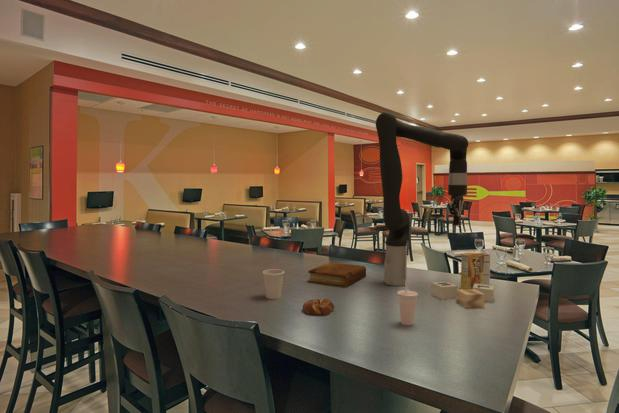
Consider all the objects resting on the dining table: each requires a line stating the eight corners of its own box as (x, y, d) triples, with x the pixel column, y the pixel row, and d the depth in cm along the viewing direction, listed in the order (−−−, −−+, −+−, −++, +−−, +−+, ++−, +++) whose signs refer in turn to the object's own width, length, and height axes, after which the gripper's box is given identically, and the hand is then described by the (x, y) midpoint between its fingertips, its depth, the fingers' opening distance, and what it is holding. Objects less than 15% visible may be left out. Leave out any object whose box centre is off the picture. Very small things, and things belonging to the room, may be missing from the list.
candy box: (474, 287, 164) (476, 252, 164) (483, 289, 161) (484, 253, 160) (459, 289, 161) (461, 253, 160) (468, 292, 157) (469, 255, 156)
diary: (346, 289, 163) (346, 275, 162) (308, 283, 172) (308, 270, 171) (365, 277, 183) (366, 265, 182) (330, 273, 192) (330, 261, 191)
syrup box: (490, 286, 166) (491, 253, 165) (475, 285, 167) (476, 252, 167) (486, 283, 172) (487, 251, 171) (472, 282, 173) (473, 250, 172)
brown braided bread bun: (317, 304, 141) (317, 294, 141) (341, 310, 134) (341, 299, 134) (295, 311, 132) (295, 301, 131) (320, 319, 125) (320, 307, 125)
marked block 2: (472, 300, 146) (472, 286, 146) (474, 295, 152) (474, 282, 152) (492, 303, 143) (493, 289, 143) (493, 298, 149) (494, 285, 149)
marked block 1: (442, 300, 146) (442, 286, 146) (431, 295, 153) (431, 282, 153) (457, 298, 148) (457, 285, 148) (445, 293, 155) (446, 281, 155)
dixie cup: (267, 301, 143) (267, 274, 142) (259, 295, 150) (259, 270, 149) (287, 298, 146) (287, 272, 146) (279, 292, 154) (279, 268, 153)
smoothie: (394, 319, 124) (394, 277, 123) (413, 319, 124) (414, 276, 124) (400, 327, 117) (401, 282, 117) (420, 326, 118) (421, 281, 117)
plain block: (465, 308, 137) (466, 294, 136) (456, 302, 144) (456, 289, 143) (484, 307, 137) (484, 294, 137) (474, 302, 144) (474, 289, 144)
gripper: (459, 183, 154) (458, 226, 155) (473, 184, 163) (471, 224, 164) (441, 183, 159) (440, 225, 160) (455, 184, 169) (454, 223, 169)
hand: (456, 224), depth 162 cm, fingers closed
